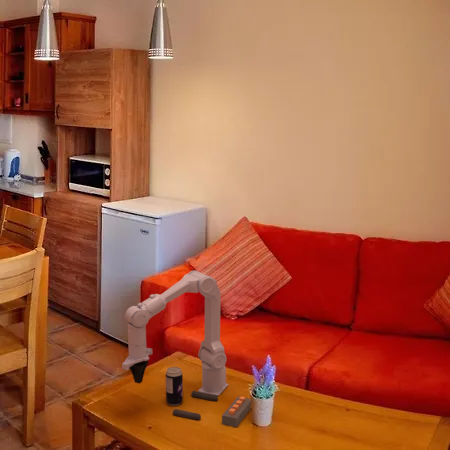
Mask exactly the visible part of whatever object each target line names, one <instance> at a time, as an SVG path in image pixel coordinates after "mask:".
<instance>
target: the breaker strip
mask: <svg viewBox="0 0 450 450" xmlns="http://www.w3.org/2000/svg"><path fill="white" fill-rule="evenodd" d="M250 399H251V398H247V397H246V396H237V397H236V399H234V401H233V402H232V403H231V404H230V405H229V407H228V408H227V409H226V410H225V411H224V412H223V414H221V425H224V426H229V427H234V428H238V426H240V424H241V422H242V421H243V420H244V419H245V417H246V416H247V414H248V413H249V412H250V411H251V409H250V407H251V400H250Z"/></svg>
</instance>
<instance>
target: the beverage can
mask: <svg viewBox="0 0 450 450" xmlns="http://www.w3.org/2000/svg"><path fill="white" fill-rule="evenodd" d="M183 377H184V376H183V372H182V368H180V367H178V366H172V367H171V366H170V367H168V368H167V369H166V372H165V400H166V401H165V402H166V403H167V404H168V405H169V406H173V407H176V406H180V405H181V403H183V401H184V400H183V398H184V393H183V391H184V389H183V387H184V386H183V385H184V384H183V383H184V382H183Z"/></svg>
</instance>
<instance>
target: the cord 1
mask: <svg viewBox="0 0 450 450" xmlns="http://www.w3.org/2000/svg"><path fill="white" fill-rule="evenodd" d="M172 414H173V416H176V417H177V416H178V417H182V418H187V419H190V420H195V421H199V420H201V418H202V417H201V416H202V415H201V414H200V413H198V412H193V411H192V412H191V411H187V410H184V409H183V410H182V409H178V408H175V409H173V410H172Z"/></svg>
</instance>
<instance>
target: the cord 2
mask: <svg viewBox="0 0 450 450" xmlns="http://www.w3.org/2000/svg"><path fill="white" fill-rule="evenodd" d="M190 396H191V397H192V398H196V399H202V400H207V401H211V402H217V401H218V399H219V397H218V396H216V395H212V394H207V393H202V392H198V390H197V391H196V390H192V391H191V393H190Z"/></svg>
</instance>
